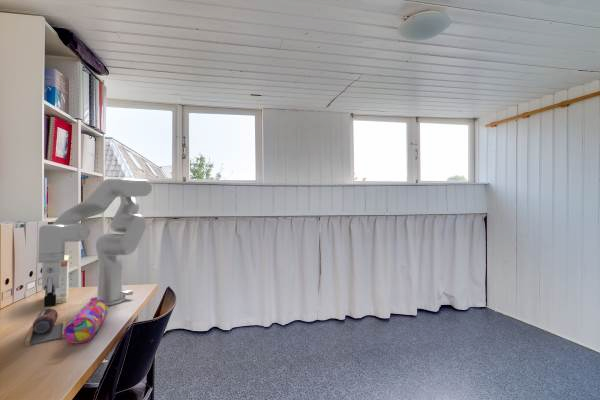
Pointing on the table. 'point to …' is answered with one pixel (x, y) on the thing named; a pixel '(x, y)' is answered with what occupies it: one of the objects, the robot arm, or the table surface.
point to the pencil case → (86, 321)
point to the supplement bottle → (45, 321)
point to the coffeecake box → (63, 281)
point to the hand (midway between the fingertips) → (50, 305)
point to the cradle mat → (46, 334)
